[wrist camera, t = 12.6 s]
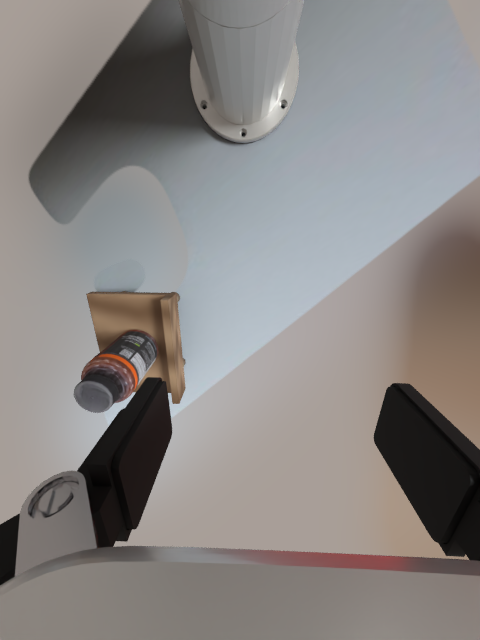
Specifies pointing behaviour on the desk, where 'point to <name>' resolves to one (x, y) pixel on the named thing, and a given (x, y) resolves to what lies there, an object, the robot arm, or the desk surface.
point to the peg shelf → (147, 315)
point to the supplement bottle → (116, 371)
